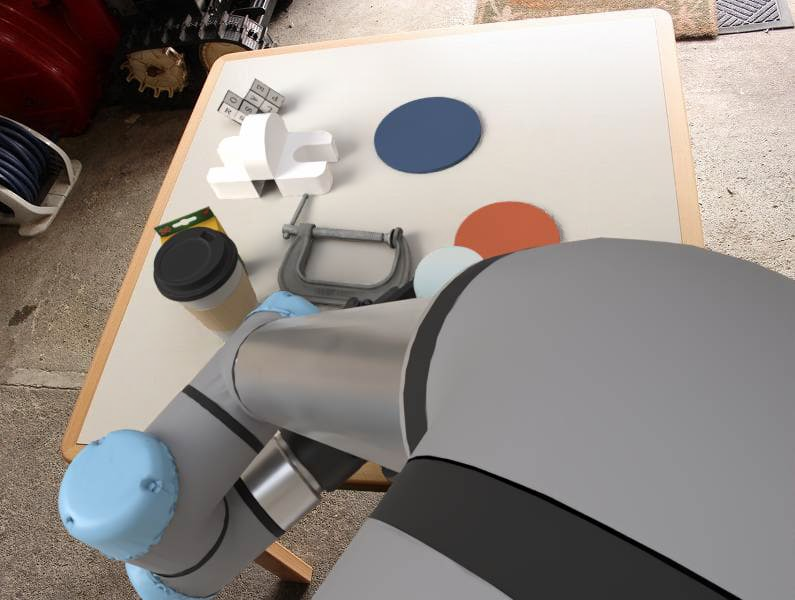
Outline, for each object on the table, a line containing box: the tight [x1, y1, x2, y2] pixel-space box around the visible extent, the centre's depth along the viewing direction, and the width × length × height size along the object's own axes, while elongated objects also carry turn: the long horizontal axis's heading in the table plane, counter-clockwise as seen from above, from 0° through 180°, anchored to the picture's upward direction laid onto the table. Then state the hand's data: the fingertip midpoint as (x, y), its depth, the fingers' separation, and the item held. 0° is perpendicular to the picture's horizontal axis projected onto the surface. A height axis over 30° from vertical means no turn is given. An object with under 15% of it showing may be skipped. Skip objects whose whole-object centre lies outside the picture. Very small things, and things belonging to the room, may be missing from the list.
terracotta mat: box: [454, 200, 561, 260], centre depth 77 cm, size 13×13×1 cm
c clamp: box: [277, 193, 412, 307], centre depth 80 cm, size 20×17×3 cm
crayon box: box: [153, 205, 249, 277], centre depth 77 cm, size 7×3×12 cm, turn 112°
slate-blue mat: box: [373, 96, 482, 175], centre depth 91 cm, size 16×16×1 cm
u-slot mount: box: [206, 112, 340, 201], centre depth 88 cm, size 18×10×10 cm, turn 84°
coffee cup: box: [152, 227, 261, 343], centre depth 71 cm, size 9×9×15 cm
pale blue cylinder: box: [413, 245, 483, 298], centre depth 59 cm, size 6×6×20 cm
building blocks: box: [216, 77, 286, 126], centre depth 98 cm, size 5×5×8 cm
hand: (477, 316), depth 59 cm, fingers open, 13 cm apart
